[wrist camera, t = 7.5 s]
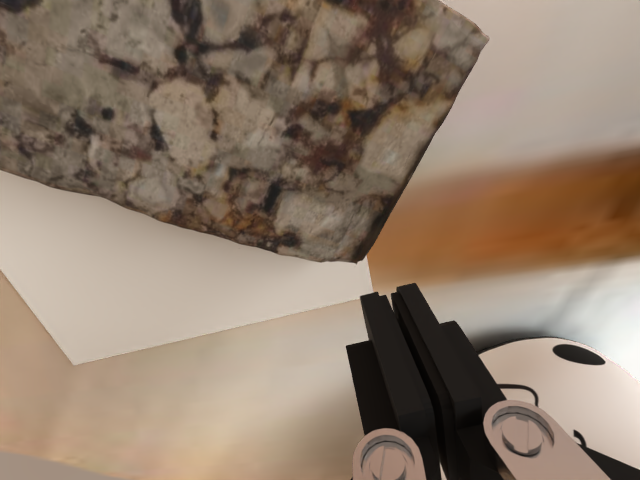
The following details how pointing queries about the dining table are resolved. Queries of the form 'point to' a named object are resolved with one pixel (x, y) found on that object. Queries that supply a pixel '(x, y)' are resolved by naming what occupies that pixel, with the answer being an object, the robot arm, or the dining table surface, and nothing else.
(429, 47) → the stone block
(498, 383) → the milk container
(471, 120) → the dining table surface
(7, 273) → the mat
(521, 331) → the dining table surface
